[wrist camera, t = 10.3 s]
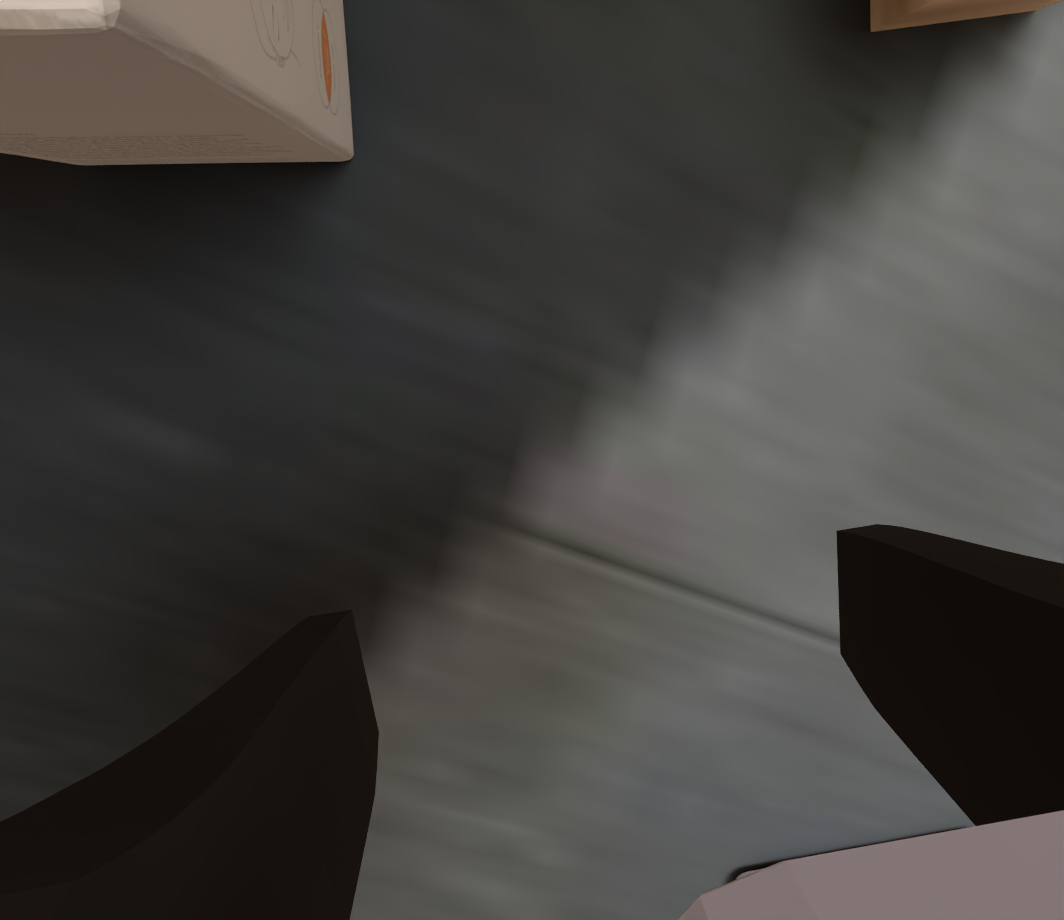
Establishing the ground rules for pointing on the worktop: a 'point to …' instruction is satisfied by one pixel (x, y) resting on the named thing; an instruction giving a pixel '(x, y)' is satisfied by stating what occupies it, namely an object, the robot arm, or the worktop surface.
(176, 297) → the worktop surface
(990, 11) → the light oak brick
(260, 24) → the small box
